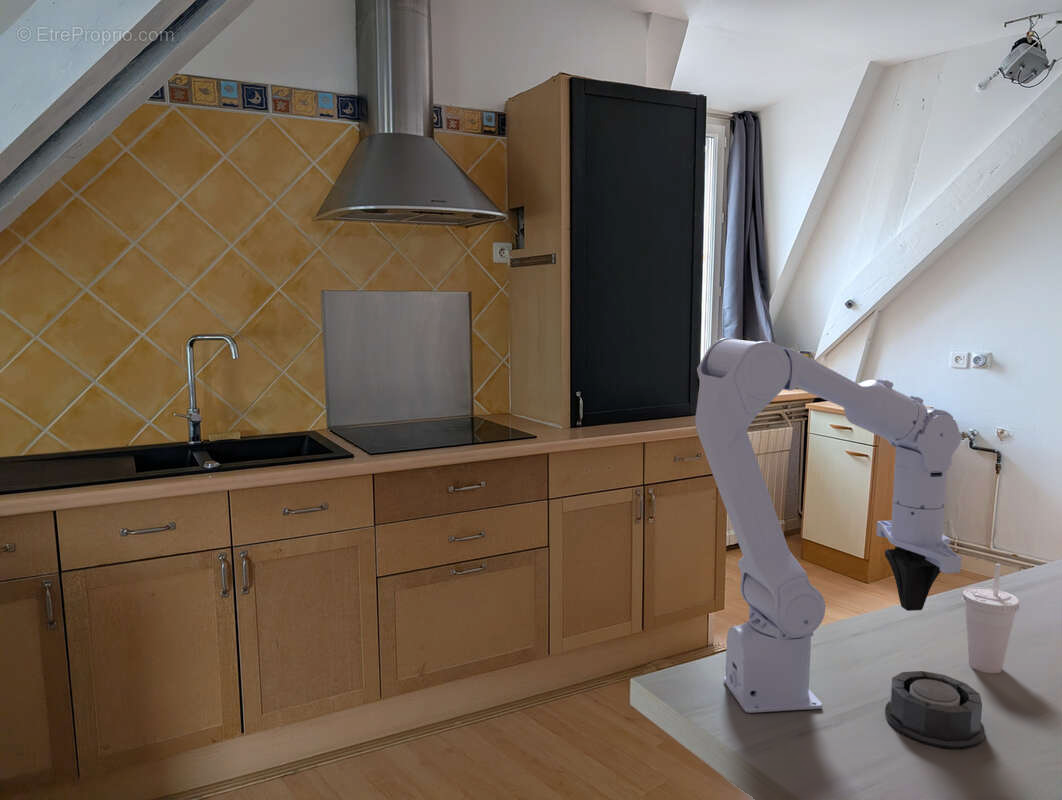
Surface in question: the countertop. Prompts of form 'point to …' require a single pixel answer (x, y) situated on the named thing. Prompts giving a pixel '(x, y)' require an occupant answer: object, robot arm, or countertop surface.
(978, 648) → the smoothie
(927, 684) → the cap
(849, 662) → the countertop surface
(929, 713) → the dark grey pot
